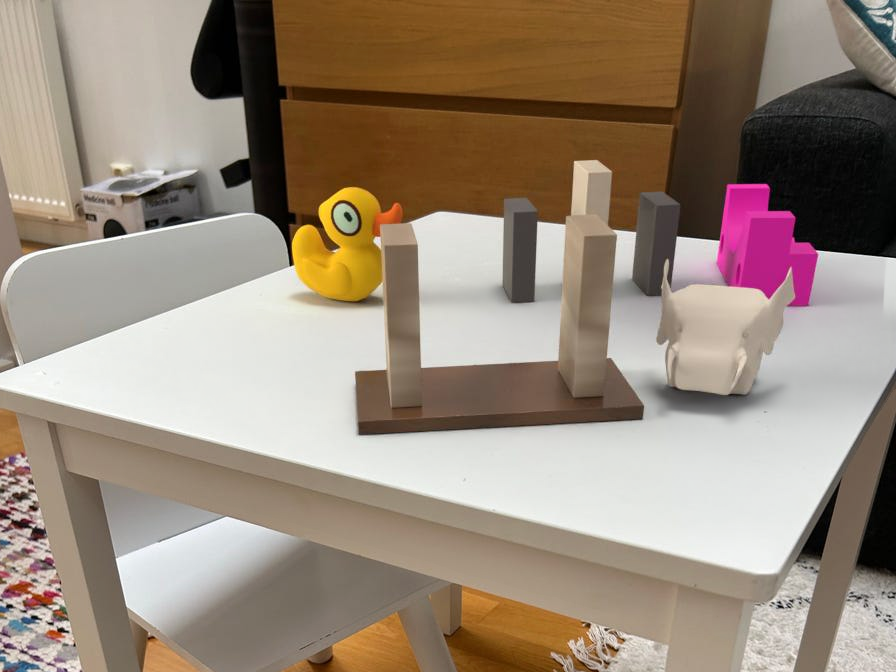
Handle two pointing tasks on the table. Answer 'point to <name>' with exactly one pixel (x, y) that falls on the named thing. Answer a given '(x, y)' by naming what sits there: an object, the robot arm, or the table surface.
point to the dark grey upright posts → (649, 255)
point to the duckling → (344, 246)
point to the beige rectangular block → (591, 189)
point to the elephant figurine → (719, 334)
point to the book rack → (510, 384)
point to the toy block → (762, 245)
